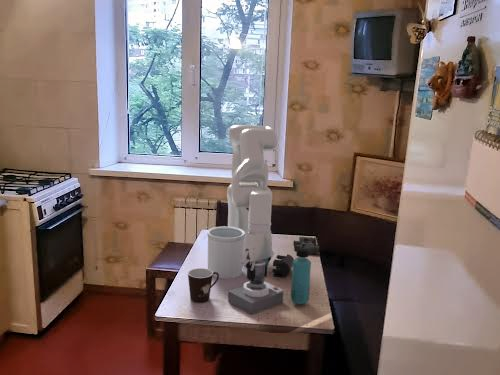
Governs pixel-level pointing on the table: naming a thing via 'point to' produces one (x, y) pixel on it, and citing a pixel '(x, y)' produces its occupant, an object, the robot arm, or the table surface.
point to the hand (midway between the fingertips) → (256, 277)
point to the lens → (259, 272)
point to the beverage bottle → (301, 277)
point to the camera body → (255, 297)
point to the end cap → (282, 265)
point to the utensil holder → (225, 251)
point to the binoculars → (307, 245)
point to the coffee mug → (200, 284)
